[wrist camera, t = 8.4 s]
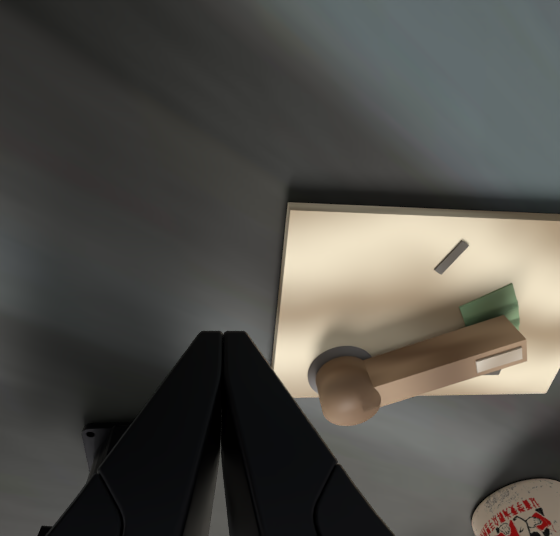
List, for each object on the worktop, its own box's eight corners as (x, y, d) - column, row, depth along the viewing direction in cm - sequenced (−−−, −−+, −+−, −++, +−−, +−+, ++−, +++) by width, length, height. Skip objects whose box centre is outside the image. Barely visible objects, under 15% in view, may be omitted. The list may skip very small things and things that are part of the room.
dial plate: (536, 382, 29) (546, 394, 28) (269, 385, 27) (270, 399, 26) (621, 216, 23) (638, 225, 22) (287, 202, 21) (290, 211, 20)
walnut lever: (323, 403, 26) (331, 434, 24) (308, 366, 24) (315, 396, 22) (506, 345, 25) (528, 372, 23) (502, 303, 23) (526, 328, 22)
